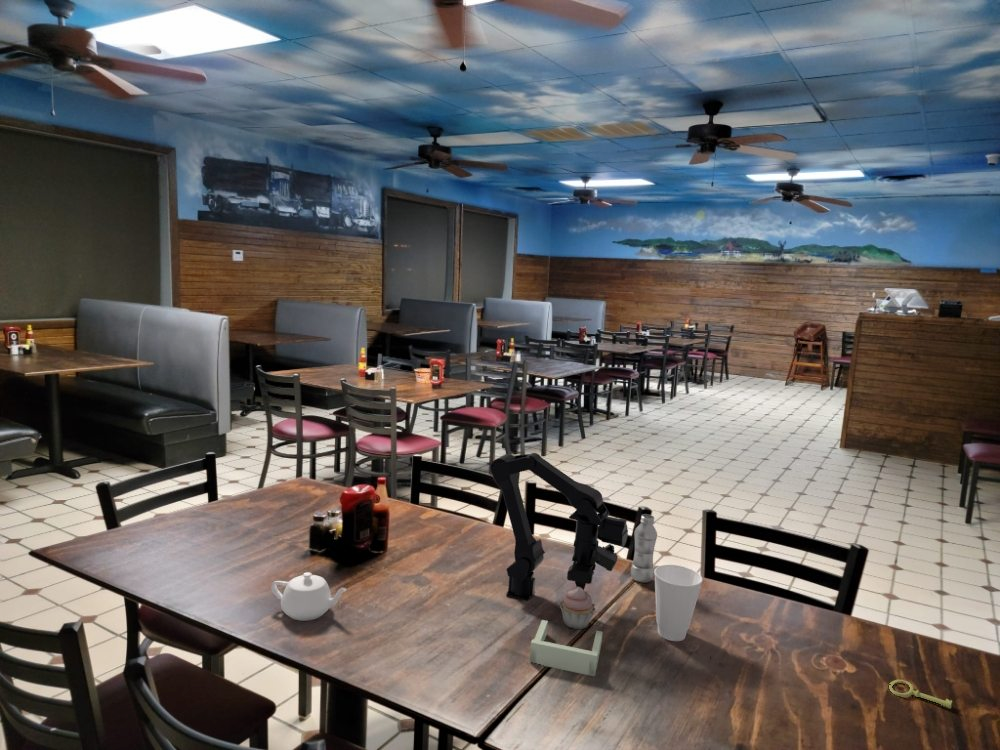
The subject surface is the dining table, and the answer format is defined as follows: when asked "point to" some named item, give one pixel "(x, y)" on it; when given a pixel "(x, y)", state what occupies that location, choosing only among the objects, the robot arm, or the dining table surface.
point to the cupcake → (577, 608)
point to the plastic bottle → (644, 550)
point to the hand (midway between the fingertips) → (580, 592)
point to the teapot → (306, 596)
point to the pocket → (564, 653)
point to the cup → (675, 599)
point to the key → (919, 694)
